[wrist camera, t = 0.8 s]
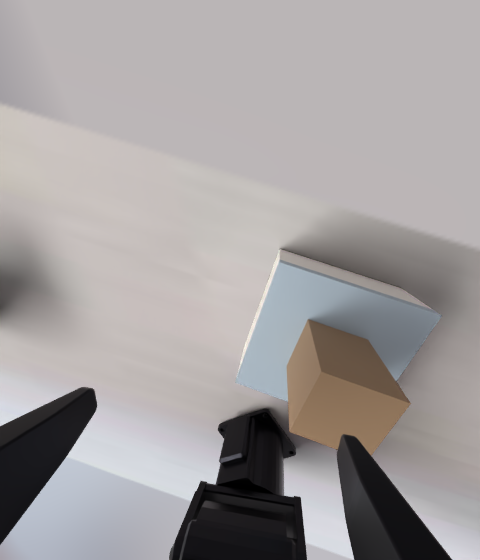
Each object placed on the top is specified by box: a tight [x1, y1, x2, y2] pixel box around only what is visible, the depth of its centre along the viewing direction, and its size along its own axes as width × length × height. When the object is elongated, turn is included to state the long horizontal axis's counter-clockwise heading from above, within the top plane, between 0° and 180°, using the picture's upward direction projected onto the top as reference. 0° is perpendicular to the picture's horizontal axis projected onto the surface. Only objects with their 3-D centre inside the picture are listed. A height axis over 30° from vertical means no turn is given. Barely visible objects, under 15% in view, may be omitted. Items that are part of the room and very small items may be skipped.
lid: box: [235, 260, 442, 455], centre depth 13 cm, size 10×10×6 cm
